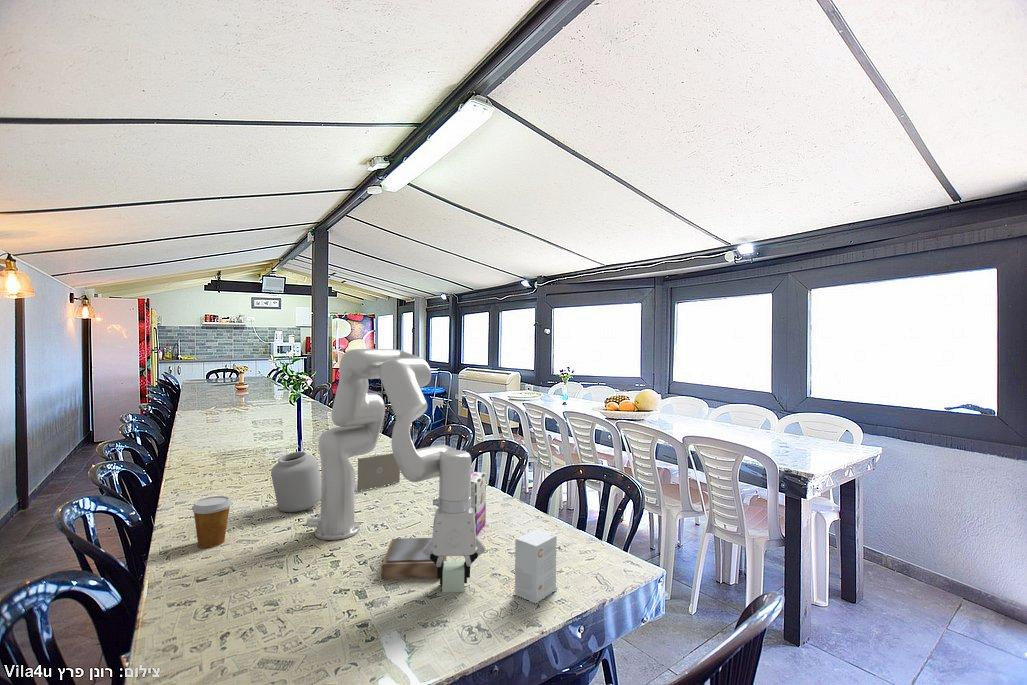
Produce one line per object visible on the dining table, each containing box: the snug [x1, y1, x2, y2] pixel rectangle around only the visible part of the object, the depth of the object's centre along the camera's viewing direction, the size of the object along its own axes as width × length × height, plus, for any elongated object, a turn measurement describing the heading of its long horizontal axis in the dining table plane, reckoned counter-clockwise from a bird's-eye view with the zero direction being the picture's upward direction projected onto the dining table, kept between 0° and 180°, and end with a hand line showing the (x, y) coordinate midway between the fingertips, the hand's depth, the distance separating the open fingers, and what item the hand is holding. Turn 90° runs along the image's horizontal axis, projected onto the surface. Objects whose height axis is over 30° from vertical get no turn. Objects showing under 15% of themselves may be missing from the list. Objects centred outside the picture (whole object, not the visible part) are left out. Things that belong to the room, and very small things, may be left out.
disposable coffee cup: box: [191, 495, 233, 549], centre depth 132 cm, size 10×10×12 cm
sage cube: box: [441, 559, 465, 593], centre depth 111 cm, size 5×5×5 cm
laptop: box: [355, 452, 401, 492], centre depth 190 cm, size 18×12×13 cm
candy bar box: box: [471, 471, 487, 536], centre depth 145 cm, size 11×5×16 cm, turn 168°
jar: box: [270, 436, 321, 519], centre depth 160 cm, size 19×15×25 cm
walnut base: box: [381, 537, 447, 580], centre depth 122 cm, size 15×15×4 cm
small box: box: [514, 528, 558, 605], centre depth 109 cm, size 8×6×13 cm
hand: (453, 580), depth 111 cm, fingers closed on sage cube, 5 cm apart
